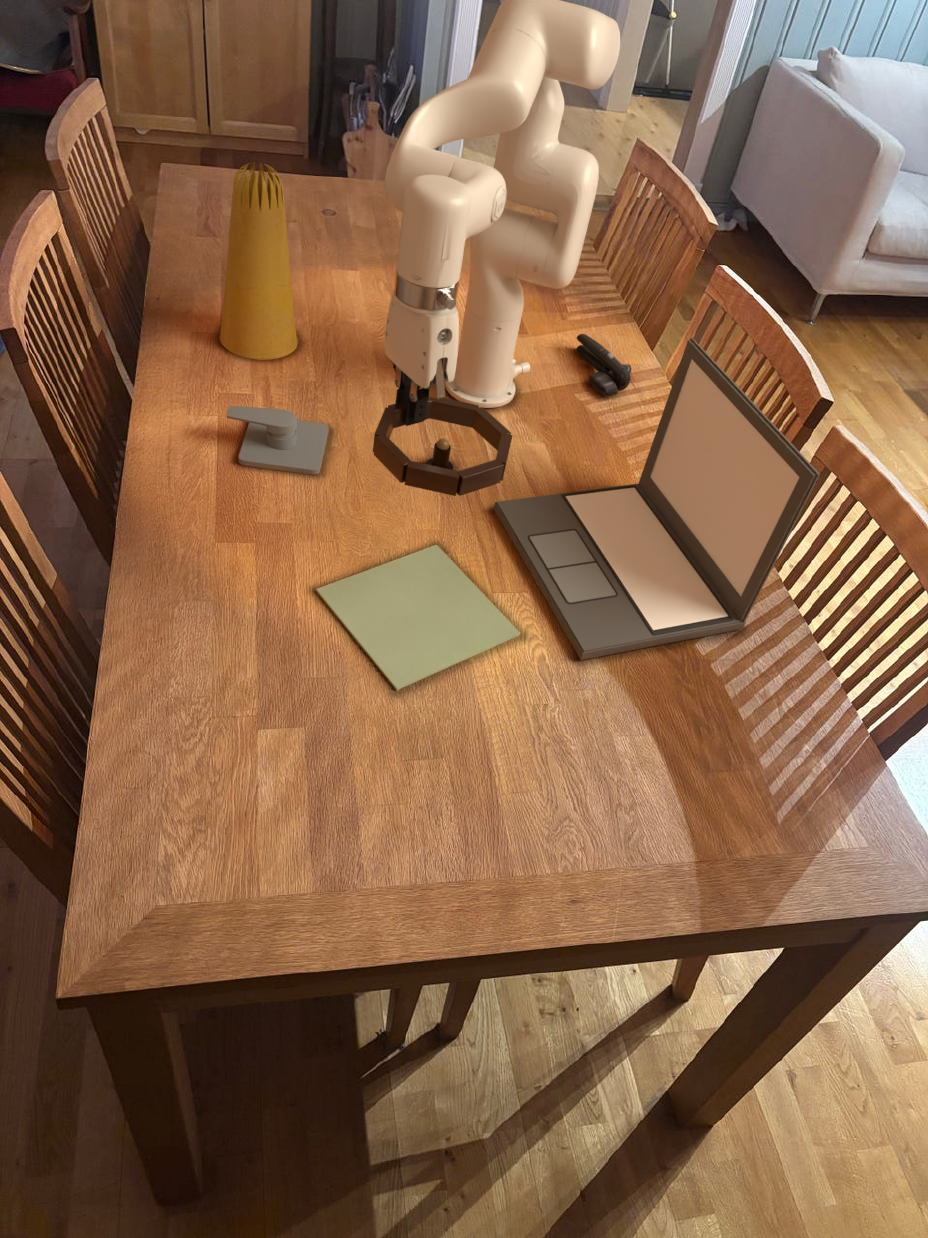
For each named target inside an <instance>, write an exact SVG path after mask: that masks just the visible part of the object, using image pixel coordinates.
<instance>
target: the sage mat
mask: <svg viewBox="0 0 928 1238" xmlns="http://www.w3.org/2000/svg"><path fill="white" fill-rule="evenodd" d="M315 592H316V593H317V594H318V595H319V597H320V598H321V599H322V600H323V602H324V603H325V604H326V605H327V606H328V608H329V609H330V610H331V611H332V613H333V614H334V616H336V618H337V619H338V620H339V622H340V623H341V624H342V625H343V626H344V628H345V629H346V630H347V631H348V632H349V634H350V635H351V636H352V638H353V639H354V640H355V641H356V642H357V644H358V645H359V646H360V647H361V648H362V650H363V651H364V653H366V655H367V656H368V657H369V658H370V660H371V661H372V662H373V663H374V665H375V666H376V667H377V668H378V670H379V671H380V672H381V674H382V675H383V676H384V677H385V678H386V680H387V681H388V682H389V683H390V685H391V686H392V687H393V688H394V689H395V691H399V690H402V689H404V688H406V687H408V686H410V685H413V684H415V683H417V682H419V681H422V680H424V679H426V678H427V677H430V676H433V675H435V674H437V673H440V672H442V671H445V670H446V669H449V668H450V667H452V666H455V665H457V664H459V663H461V662H465V661H466V660H469V659H471V658H473V657H475V656H478V655H479V654H482V653H484V652H486V651H488V650H490V649H493V648H495V647H497V646H499V645H502V644H504V643H506V642H508V641H510V640H513V639H515V638H518V637H519V636H521V632H520V631H519V630H518V628H516V626H514V624H513V623H512V622H511V621H510V620H509V619H508V618H507V617H506V616H505V615H504V613H502V611H500V609H498V608H497V607H496V606H495V604H494V603H493V602H492V601H491V600H490V599H489V598H488V597H487V596H486V595H485V594H484V593H483V592H482V591H481V589H479V587H478V586H477V585H476V584H475V583H474V582H473V581H472V580H471V579H470V578H469V577H468V576H467V575H466V574H465V573H464V572H463V571H462V569H460V568H459V566H458V565H457V564H456V563H455V562H454V561H453V560H452V559H451V558H450V557H449V556H448V554H447V553H445V551H443V550H442V549H441V548H440V546H439V545H438V544H434V545H431V546H429V547H426V548H422V549H421V550H418V551H415V552H412V553H410V554H408V555H405V556H401V557H399V558H396V559H394V560H391V561H388V562H385V563H382V564H380V565H378V566H374V567H372V568H369V569H367V570H364V571H361V572H359V573H355V574H353V575H350V576H348V577H347V576H346V577H345V578H342V579H339V580H336V581H334V582H331V583H328V584H326V585H323V586H320V587H318V588H317V587H316V589H315Z"/></svg>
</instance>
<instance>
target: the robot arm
mask: <svg viewBox="0 0 928 1238" xmlns="http://www.w3.org/2000/svg"><path fill="white" fill-rule="evenodd" d="M620 31H621V30H620V27H619V24H618V22H617V21H616V20H615V19H614V18H612V17H610V16H608V15H606V14H604V13H603V12H600V10H599V11H598V10H596V9H594V8H591V7H588V6H584V5H580V4H577V3H572V2H568V1H564V0H503V1H502V2H501V4H500V5H499V6H498V9H497V11H496V13H495V16H494V17H493V21H492V22H491V25H490V27H489V30H488V31H487V34H486V36H485V38H484V40H483V43H482V45H481V47H480V50H479V52H478V54H477V57H476V59H475V60H474V63H473V64H472V67H471V70H470V72H469V74H468V77H467V78H466V79H464V80H462V81H460V82H456V83H455V84H452V85H451V86H449V87H447V88H445V89H443V90H441V91H440V92H438V93H436V94H434V95H433V96H431V97H429V98H427V100H425V101H424V102H423V103H421V104H420V105H419V106H418V107H417V108H415V109H414V111H413V112H412V113H411V114H410V116H409V117H408V118H407V120H406V122H405V125H404V127H403V128H402V131H401V133H400V135H399V137H398V140H397V142H396V144H395V146H394V147H393V151H392V152H391V155H390V157H389V161H388V163H387V167H386V171H385V176H384V193H385V196H386V199H387V200H388V202H389V204H390V205H391V206H392V207H393V208H394V209H395V210H398V211H400V212H401V213H402V214H401V223H400V232H399V242H398V252H397V260H396V270H395V279H394V280H395V281H394V288H393V291H392V295H391V297H390V302H389V306H388V313H387V317H386V322H385V330H384V352H385V355H386V357H387V358H388V359H389V361H390V362H391V364H392V368H393V371H394V373H395V374H394V386H395V387H396V388H397V389H396V395H395V403H394V404H396V403H400V402H404V401H406V403H405V412H404V420H403V423H404V424H405V425H404V426H406V427H408V426H412V425H416V424H420V423H423V422H425V421H426V420H427V419H426V412H427V405H428V398H430V399H433V400H439V399H443V398H446V391H447V392H448V393H447V394H449V395H450V396H451V397H452V398H454V400H457V401H461V402H466V403H470V404H475V405H479V408H481V407H483V408H484V409H493V408H499V407H503V406H505V405H507V404H509V403H510V402H512V400H513V399H514V397H515V395H516V390H517V389H516V384H515V382H514V379H515V378H517V377H518V376H519V375H524V374H527V373H530V371H531V365H530V363H529V362H528V361H523V362H519V363H517V361H516V359H515V357H514V355H515V350H516V345H517V341H518V336H519V331H520V326H521V320H522V317H523V313H524V308H525V307H524V306H525V296H524V290H523V287H522V284H521V282H520V280H521V281H524V282H527V283H531V284H535V285H537V286H542V287H546V288H549V289H554V290H555V289H556V290H560V289H564V288H566V287H568V286H569V285H570V284H571V283H572V281H573V279H574V277H575V275H576V272H577V270H578V267H579V263H580V260H581V255H582V252H583V247H584V244H585V239H586V236H587V231H588V227H589V225H590V219H591V215H592V212H593V207H594V204H595V199H596V195H597V191H598V190H597V189H598V185H599V177H600V168H599V167H600V166H599V162H598V160H597V158H596V157H595V155H594V154H593V153H591V152H590V151H587V150H585V149H583V148H579V147H576V146H572V145H569V144H565V143H562V142H560V141H559V134H560V129H561V124H562V120H563V116H564V111H565V98H564V93H563V91H562V87H561V84H560V82H563V83H566V84H570V85H574V86H576V87H577V86H578V87H581V88H584V89H586V90H599V89H600V88H602V87H603V86H604V85H606V83H607V82H608V81H610V78H611V77H612V75H613V73H614V71H615V69H616V67H617V63H618V59H619V56H620V50H621V32H620ZM495 135H499V137H498V142H497V148H496V154H495V158H494V164H493V166H491V165H488V164H486V163H482V162H478V161H476V160H471V159H468V158H465V157H461V156H459V155H455V154H451V153H448V152H444V151H441V150H437V148H439V147H440V146H443V145H445V144H448V143H451V142H454V141H460V140H466V139H476V138H484V137H489V136H495ZM507 201H510V202H513V203H515V204H519V205H522V206H526V207H530V208H532V209H536V210H540V211H542V212H543V211H544V212H547V213H551V214H553V215H555V217H556V220H557V221H553V220H551V219H547V218H543V217H540V216H536V215H533V214H529V213H526V212H523V211H520V210H516V209H510V208H507V207H506V203H507ZM469 238H470V240H469V241H470V243H469V252H470V253H469V254H470V255H469V256H470V257H469V259H470V265H469V267H470V268H469V281H468V288H467V294H466V295H467V296H466V301H465V307H464V313H463V319H462V325H461V331H460V319H459V309H458V308H457V307H456V306H457V300H458V299H457V298H458V294H459V293H458V292H459V286H460V279H461V272H462V267H463V260H464V253H465V245H466V240H467V239H469ZM516 363H517V364H516ZM425 419H426V420H425Z"/></svg>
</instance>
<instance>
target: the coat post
mask: <svg viewBox="0 0 928 1238" xmlns="http://www.w3.org/2000/svg"><path fill="white" fill-rule="evenodd" d="M451 449H452V446H451V444H450V442H449V440H448V439H446V438H439V439H438V440H437V442H435V443H434V444H433V451H432V452H433V453H432V457H431V458H429V459H428V460H427V461H426V462H425V464H427V465H432V466H437V467H441V468H446V469H450V470H454V464H453V463H452V462H451V461H450V455H451Z"/></svg>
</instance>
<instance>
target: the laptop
mask: <svg viewBox="0 0 928 1238" xmlns="http://www.w3.org/2000/svg"><path fill="white" fill-rule="evenodd" d="M820 476H821V473H820V472H819V471H818V470H817V469H816V468H815V467H814V466H813V464H811V462H810V461H809V460H808V459H807V458H806V457H805V456H804V454H802V453H801V452H800V451H799V449H798V448H797V447H796V446H795V445H794V444H793V443H792V442H791V441H790V440H789V439H788V437H786V436H785V435H784V433H783V432H782V431H781V430H780V429H779V428H778V427H777V426H776V425H775V424H774V423H773V422H772V421H771V420H770V418H769V417H768V416H767V415H765V413H764V412H763V411H762V410H761V409H760V408H759V407H758V405H756V404H755V403H754V401H753V400H752V399H751V398H750V397H749V396H748V395H747V394H746V393H745V392H744V390H742V388H740V387H739V385H738V384H737V383H736V382H734V380H733V378H731V377H730V376H729V375H728V373H726V371H724V370H723V369H722V367H721V366H720V365H719V364H718V363H717V361H715V360H714V358H713V357H711V356H710V355H709V354H708V352H707V351H706V350H705V349H704V348H703V347H702V346H701V345H700V344H699V343H698V342H697V341H696V340H695V338H693V337H690V338H689V339H687V342H686V345H685V347H684V349H683V352H682V356H681V359H680V362H679V364H678V368H677V371H676V373H675V377H674V379H673V382H672V386H671V388H670V391H669V394H668V397H667V399H666V403H665V405H664V409H663V411H662V414H661V416H660V420H659V423H658V426H657V428H656V431H655V434H654V438H653V440H652V442H651V446H650V449H649V452H648V455H647V457H646V460H645V464H644V466H643V468H642V472H641V475H640V478H639V481H638V483H632V484H624V485H616V486H615V485H614V486H607V487H599V488H593V489H584V490H576V491H568V492H561V493H553V494H544V495H537V496H529V497H521V498H514V499H513V498H512V499H504V500H497V501H495V502H494V504H493V508H492V509H493V511H494V512H495V514H496V516H497V517H498V520H499V521H500V523H501V524H502V526H503V528H504V530H505V532H506V533H507V535H508V536H509V539H510V540H511V542H512V543H513V545H514V547H515V549H516V551H517V552H518V554H519V556H520V558H521V559H522V561H523V562H524V564H525V566H526V568H527V569H528V571H529V573H530V575H531V576H532V578H533V580H534V582H535V584H536V586H538V589H539V590H540V592H541V594H542V596H543V597H544V599H545V600H546V602H547V604H548V606H549V607H550V610H551V611H552V613H553V615H554V617H555V618H556V620H557V621H558V623H559V625H560V627H561V629H562V630H563V632H564V634H565V636H566V637H567V639H568V641H569V642H570V644H571V646H572V648H573V649H574V651H575V653H576V654H577V656H578V658H579V660H580V661H584V660H588V659H589V660H590V659H594V658H600V657H605V656H609V655H616V654H620V653H625V652H630V651H635V650H640V649H647V648H652V647H655V646H656V647H657V646H661V645H667V644H671V643H676V642H681V641H687V640H692V639H698V638H702V637H708V636H713V635H718V634H719V635H720V634H724V633H728V632H733V631H739V630H742V629H744V628H745V625H746V623H747V622H746V621H747V619H748V618H749V615H750V614H751V612H752V609H753V608H754V605H755V603H756V601H757V600H758V597H759V595H760V594H761V592H762V590H763V588H764V586H765V584H766V582H767V580H768V578H769V576H770V574H771V572H772V570H773V568H774V567H775V564H776V563H777V560H778V558H779V557H780V554H781V552H782V550H783V548H784V546H785V545H786V543H787V540H788V538H789V537H790V535H791V533H792V531H793V529H794V527H795V525H796V523H797V521H798V519H799V517H800V516H801V513H802V511H803V509H804V507H805V505H806V504H807V501H808V500H809V497H810V496H811V493H812V491H813V489H814V488H815V485H816V483H817V482H818V480H819V478H820Z"/></svg>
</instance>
